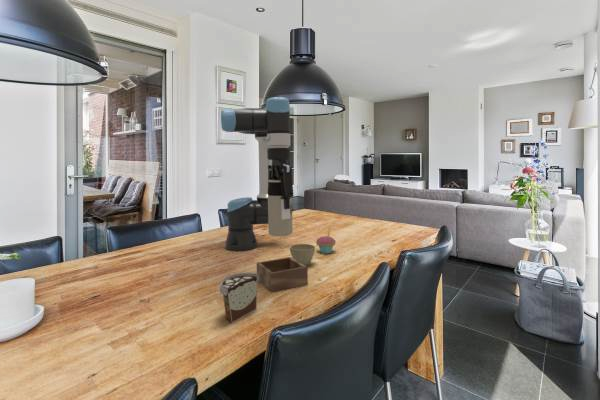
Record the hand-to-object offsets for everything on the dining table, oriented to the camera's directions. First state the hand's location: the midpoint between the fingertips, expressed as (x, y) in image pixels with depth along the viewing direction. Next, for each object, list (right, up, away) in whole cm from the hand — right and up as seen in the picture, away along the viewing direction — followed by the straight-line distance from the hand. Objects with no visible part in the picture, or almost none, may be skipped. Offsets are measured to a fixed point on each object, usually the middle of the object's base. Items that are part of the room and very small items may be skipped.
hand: (280, 216), depth 109 cm
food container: (-11, -25, -20) cm, 34 cm away
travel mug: (0, -6, +1) cm, 6 cm away
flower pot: (+8, -20, +21) cm, 30 cm away
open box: (0, -22, +3) cm, 22 cm away
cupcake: (+18, -18, +38) cm, 45 cm away
